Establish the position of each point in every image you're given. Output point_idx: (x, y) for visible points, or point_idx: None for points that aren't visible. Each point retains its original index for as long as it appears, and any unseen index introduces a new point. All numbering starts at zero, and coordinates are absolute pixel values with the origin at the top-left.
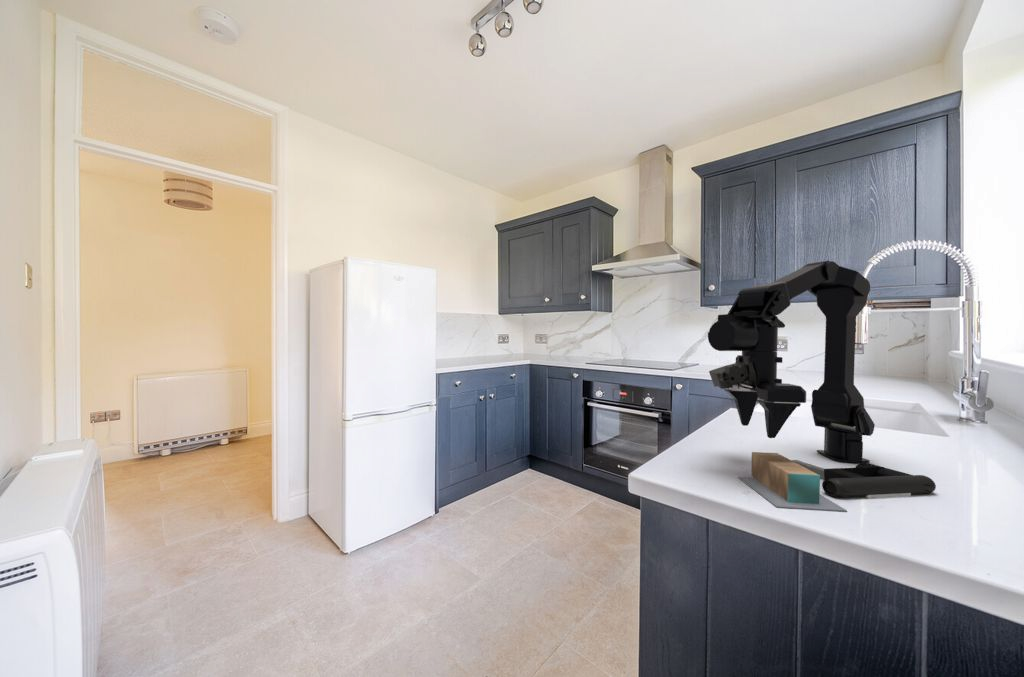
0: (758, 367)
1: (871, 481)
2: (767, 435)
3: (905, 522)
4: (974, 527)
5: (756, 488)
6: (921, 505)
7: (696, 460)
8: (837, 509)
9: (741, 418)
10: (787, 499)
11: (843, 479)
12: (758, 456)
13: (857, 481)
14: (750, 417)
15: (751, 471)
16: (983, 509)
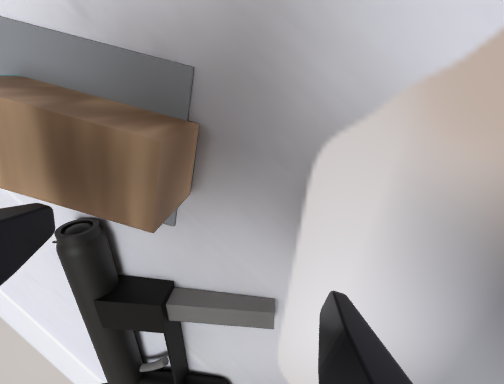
0: None
1: (81, 314)
2: (38, 207)
3: None
4: (18, 308)
5: (95, 52)
6: (82, 322)
7: (401, 17)
8: None
9: (344, 325)
10: (17, 76)
11: (66, 268)
12: (109, 126)
13: (72, 289)
14: (319, 378)
15: (193, 126)
16: (85, 374)
